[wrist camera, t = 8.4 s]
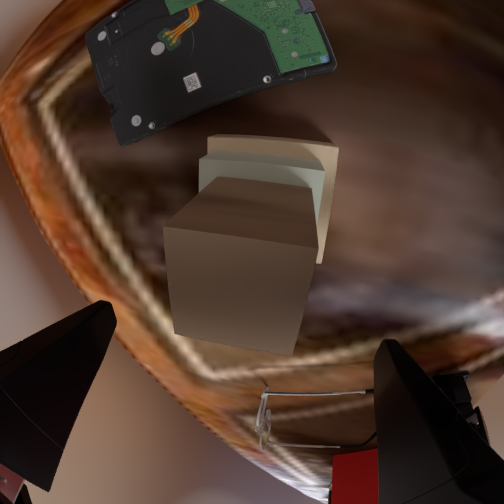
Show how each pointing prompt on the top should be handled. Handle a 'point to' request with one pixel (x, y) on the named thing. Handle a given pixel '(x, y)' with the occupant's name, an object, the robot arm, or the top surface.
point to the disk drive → (200, 56)
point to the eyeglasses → (265, 394)
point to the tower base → (291, 148)
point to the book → (355, 478)
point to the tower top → (264, 170)
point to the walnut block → (242, 263)
